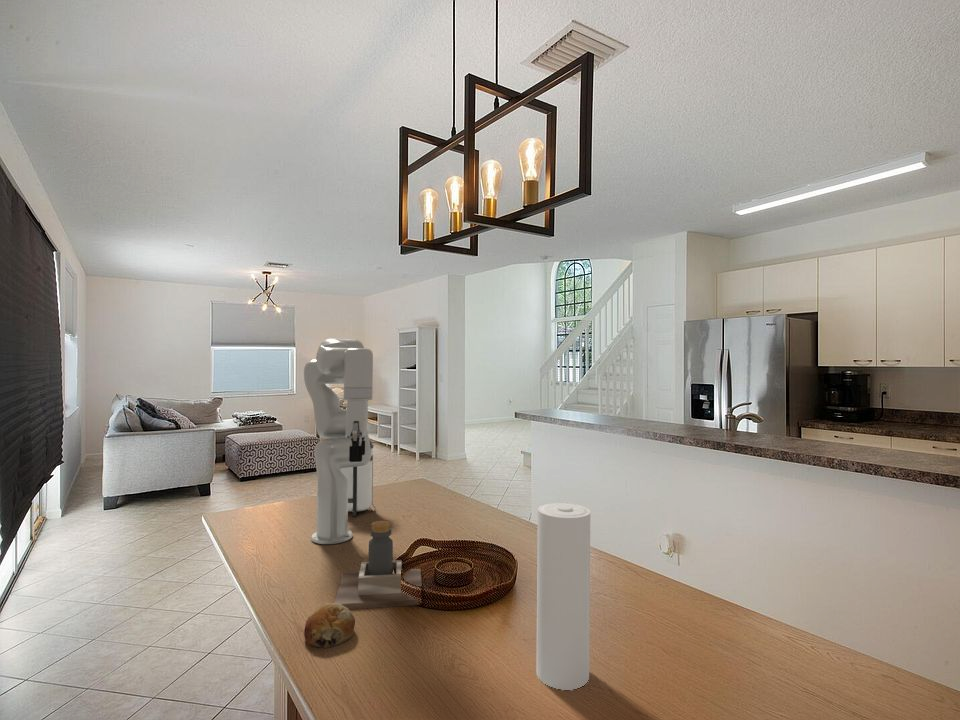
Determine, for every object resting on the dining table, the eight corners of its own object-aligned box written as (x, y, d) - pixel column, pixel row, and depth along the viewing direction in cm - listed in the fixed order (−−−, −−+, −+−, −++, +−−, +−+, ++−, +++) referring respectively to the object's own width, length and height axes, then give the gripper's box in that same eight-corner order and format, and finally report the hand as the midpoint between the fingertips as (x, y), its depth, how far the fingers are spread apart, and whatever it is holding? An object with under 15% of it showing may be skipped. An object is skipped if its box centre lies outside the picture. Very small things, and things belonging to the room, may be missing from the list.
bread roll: (359, 649, 106) (368, 607, 109) (332, 652, 97) (343, 606, 101) (318, 641, 109) (328, 600, 113) (289, 642, 101) (301, 598, 104)
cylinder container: (532, 660, 97) (533, 500, 97) (580, 658, 97) (582, 500, 98) (542, 691, 87) (543, 515, 88) (596, 689, 88) (597, 514, 88)
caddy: (343, 576, 133) (343, 556, 133) (420, 573, 136) (420, 553, 136) (333, 609, 116) (334, 586, 116) (422, 604, 118) (423, 581, 119)
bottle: (387, 590, 123) (387, 527, 123) (364, 588, 124) (365, 526, 124) (395, 580, 129) (396, 520, 129) (373, 578, 130) (374, 519, 130)
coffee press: (335, 506, 199) (336, 429, 199) (377, 505, 201) (378, 429, 201) (327, 520, 182) (328, 435, 182) (373, 519, 184) (373, 435, 184)
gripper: (347, 392, 145) (346, 452, 145) (339, 396, 128) (338, 464, 128) (374, 392, 146) (373, 452, 146) (370, 396, 129) (369, 464, 129)
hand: (357, 458), depth 137 cm, fingers open, 9 cm apart
